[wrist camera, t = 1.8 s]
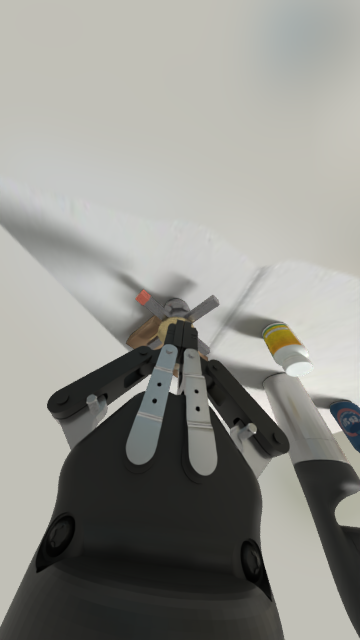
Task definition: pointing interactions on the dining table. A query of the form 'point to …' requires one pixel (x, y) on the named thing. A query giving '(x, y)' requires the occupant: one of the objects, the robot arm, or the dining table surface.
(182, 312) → the capstan
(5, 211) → the dining table surface
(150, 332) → the stand
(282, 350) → the supplement bottle
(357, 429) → the soda can
